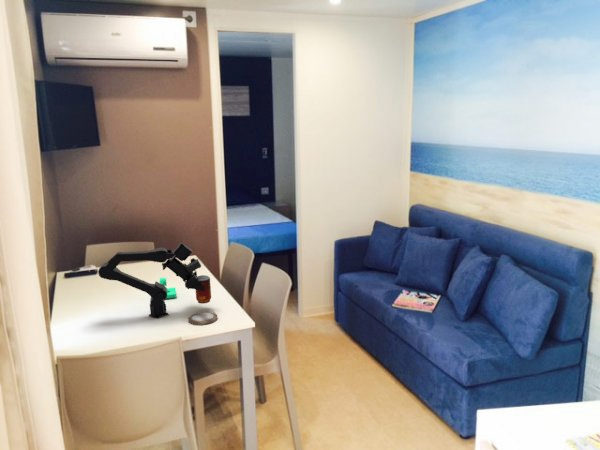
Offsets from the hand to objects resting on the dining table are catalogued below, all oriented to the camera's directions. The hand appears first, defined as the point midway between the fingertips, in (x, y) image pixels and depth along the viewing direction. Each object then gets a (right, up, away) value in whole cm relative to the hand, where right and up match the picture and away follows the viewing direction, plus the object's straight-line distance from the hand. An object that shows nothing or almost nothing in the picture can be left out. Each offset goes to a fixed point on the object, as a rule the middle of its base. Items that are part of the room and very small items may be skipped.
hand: (203, 288), depth 238 cm
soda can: (0, -7, +1) cm, 7 cm away
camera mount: (-23, -8, +24) cm, 34 cm away
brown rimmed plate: (+2, -13, -10) cm, 17 cm away
